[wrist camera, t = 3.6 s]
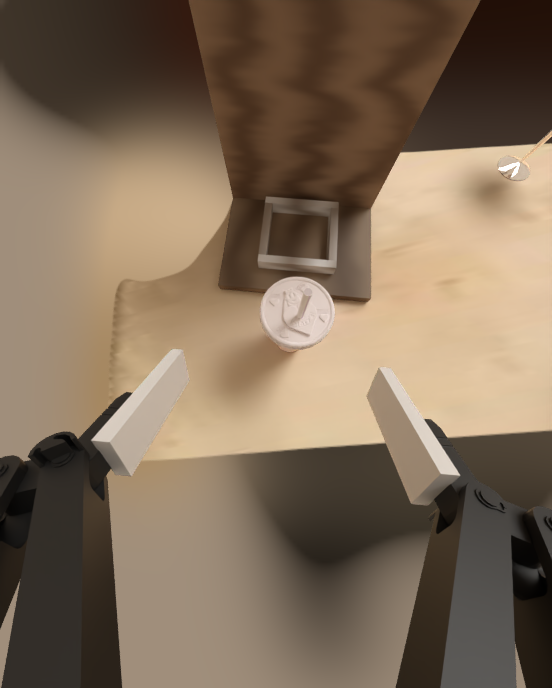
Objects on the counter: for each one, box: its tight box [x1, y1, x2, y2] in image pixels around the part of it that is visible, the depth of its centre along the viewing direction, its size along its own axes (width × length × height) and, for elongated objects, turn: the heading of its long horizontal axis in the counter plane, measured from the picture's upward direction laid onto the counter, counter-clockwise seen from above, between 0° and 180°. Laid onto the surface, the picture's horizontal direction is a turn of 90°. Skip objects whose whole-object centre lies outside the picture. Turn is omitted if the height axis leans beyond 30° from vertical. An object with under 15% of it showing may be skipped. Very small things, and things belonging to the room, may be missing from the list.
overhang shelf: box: [189, 0, 480, 302], centre depth 17 cm, size 20×16×25 cm
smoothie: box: [260, 277, 335, 352], centre depth 20 cm, size 6×6×14 cm
